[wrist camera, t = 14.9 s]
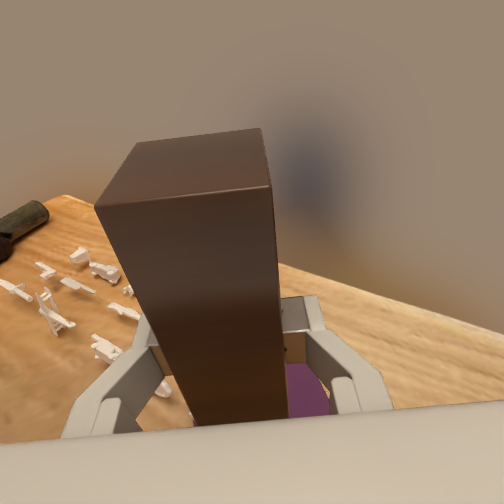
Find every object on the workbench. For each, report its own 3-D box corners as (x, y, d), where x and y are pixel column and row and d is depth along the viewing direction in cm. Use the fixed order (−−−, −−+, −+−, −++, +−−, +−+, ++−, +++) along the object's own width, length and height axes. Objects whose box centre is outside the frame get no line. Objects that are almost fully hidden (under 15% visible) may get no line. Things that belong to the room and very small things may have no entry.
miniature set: (-5, 303, 43) (77, 259, 52) (204, 443, 28) (270, 348, 37) (-27, 263, 40) (65, 223, 49) (198, 399, 25) (273, 306, 34)
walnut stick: (294, 471, 15) (272, 185, 6) (221, 477, 16) (91, 206, 6) (285, 399, 18) (261, 127, 9) (223, 405, 18) (135, 142, 9)
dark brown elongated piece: (36, 219, 63) (20, 193, 59) (62, 223, 60) (47, 196, 57) (-59, 280, 50) (-86, 252, 47) (-30, 288, 48) (-56, 259, 44)
